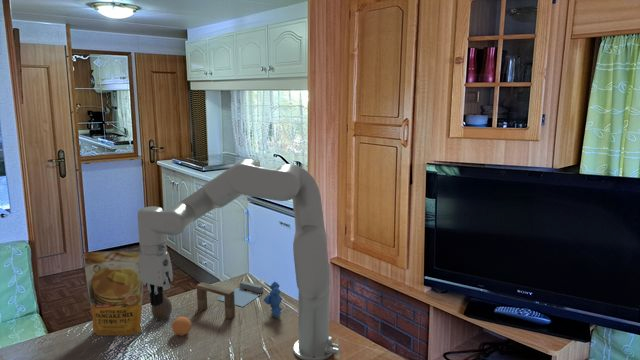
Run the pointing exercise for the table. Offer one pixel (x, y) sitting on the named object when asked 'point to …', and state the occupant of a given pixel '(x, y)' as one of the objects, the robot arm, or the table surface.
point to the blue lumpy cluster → (274, 299)
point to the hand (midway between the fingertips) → (157, 304)
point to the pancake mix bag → (114, 292)
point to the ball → (181, 326)
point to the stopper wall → (251, 286)
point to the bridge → (227, 293)
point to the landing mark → (241, 297)
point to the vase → (162, 309)
